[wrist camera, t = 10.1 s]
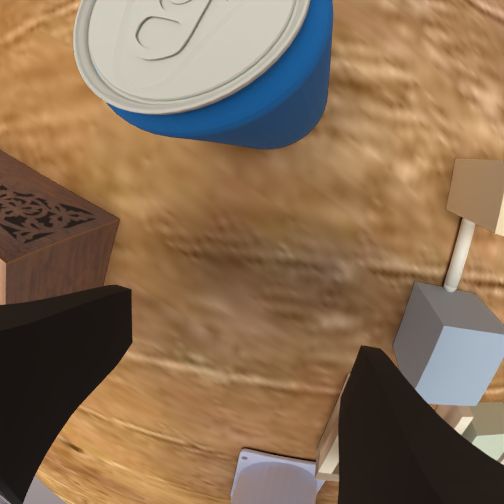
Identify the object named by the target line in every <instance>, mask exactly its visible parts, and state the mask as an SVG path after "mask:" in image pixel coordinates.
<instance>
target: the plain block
mask: <svg viewBox="0 0 504 504" xmlns="http://www.w3.org/2000/svg"><path fill="white" fill-rule="evenodd" d="M469 407H470V410H471V412H472V414H473V419H472V420H471V422H470V423H469V425H468V426H467V428H466V429H465V431H464V432H463V433H462V435H461V436H463V437H464V438H465V439H467V440H468V441H469V442H470V443H472V444H473V445H474V446H476V447H477V448H479V449H480V450H481V451H483V452H484V453H486V454H487V455H489V456H490V457H492V458H493V459H495V460H496V461H497V460H498V459H499V457H500V456H501V455H502V454H503V453H504V403H503V402H478V404H477V405H476V406H469Z"/></svg>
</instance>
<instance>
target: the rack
mask: <svg viewBox="0 0 504 504" xmlns="http://www.w3.org/2000/svg"><path fill="white" fill-rule="evenodd" d="M349 376H350V373H348V376H347V378H346V381H345V383H344V386H343V388H342V391H341V393H340V396H339V398H338V401H337V403H336V406H335V408H334V410H333V413H332V415H331V417H330V420H329V422H328V424H327V427H326V429H325V431H324V433H323V435H322V438H321V440H320V442H319V444H318V447H317V458H316V468H315V478H314V479H319V480H327V481H336V482H339V446H338V420H339V409H340V399H341V395H342V393H343V390H344V388H345V386H346V383H347V381H348V378H349ZM435 412H436V413H437V414H438V415H439V416H440V417H441V418H442V419H443V420H445V421H446V422H447V423H448V424H449V425H450V426H451V427H452V428H454V429H455V430H456V431H457V432H458V433H459V434H460V435H462V433H463V432H464V431H465V429H466V428H467V426H468V425H469V423H470V422H471V420H472V419H473V414H472V412H471V410H470V407H469V406H459V405H439V404H438V406H437V408H436V410H435ZM497 461H498V462H500V463H501V464H503V465H504V453H503V454H502V455H501V456H500V457H499V459H498V460H497Z"/></svg>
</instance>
